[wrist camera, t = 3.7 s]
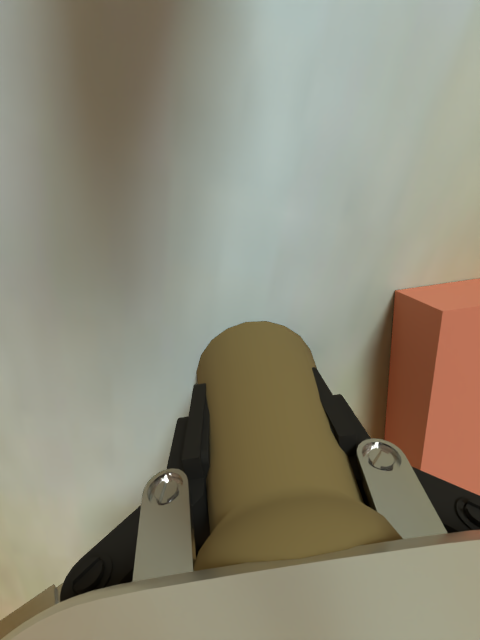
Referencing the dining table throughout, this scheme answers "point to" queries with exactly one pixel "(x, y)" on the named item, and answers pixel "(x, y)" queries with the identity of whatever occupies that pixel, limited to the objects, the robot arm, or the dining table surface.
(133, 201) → the dining table surface
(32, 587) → the dining table surface
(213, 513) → the cork
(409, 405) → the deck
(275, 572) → the robot arm
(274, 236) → the dining table surface
